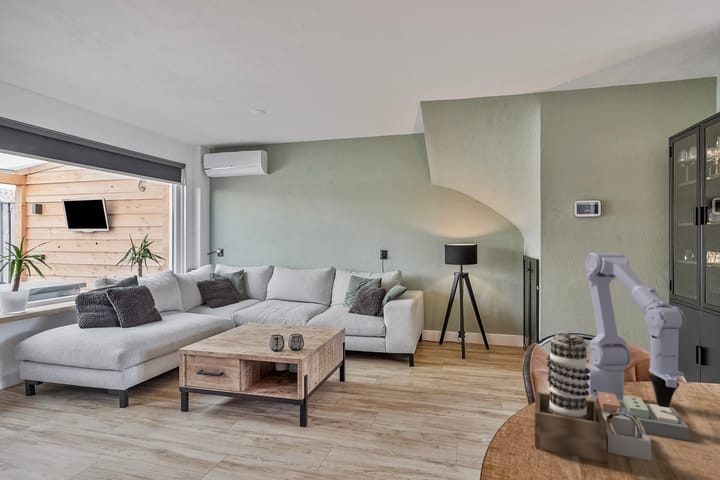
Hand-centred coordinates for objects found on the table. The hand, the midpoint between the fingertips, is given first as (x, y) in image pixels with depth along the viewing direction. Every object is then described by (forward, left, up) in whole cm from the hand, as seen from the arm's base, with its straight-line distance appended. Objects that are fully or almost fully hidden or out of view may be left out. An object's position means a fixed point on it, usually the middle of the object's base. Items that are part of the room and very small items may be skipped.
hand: (663, 406), depth 102 cm
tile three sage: (-6, 0, -3) cm, 7 cm away
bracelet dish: (-11, -15, -5) cm, 19 cm away
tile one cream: (0, 0, -4) cm, 4 cm away
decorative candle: (-23, -19, -5) cm, 30 cm away
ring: (-11, -15, -5) cm, 19 cm away
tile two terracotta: (-12, 0, -3) cm, 12 cm away
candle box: (-23, -19, -5) cm, 30 cm away
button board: (-6, 0, -5) cm, 8 cm away
